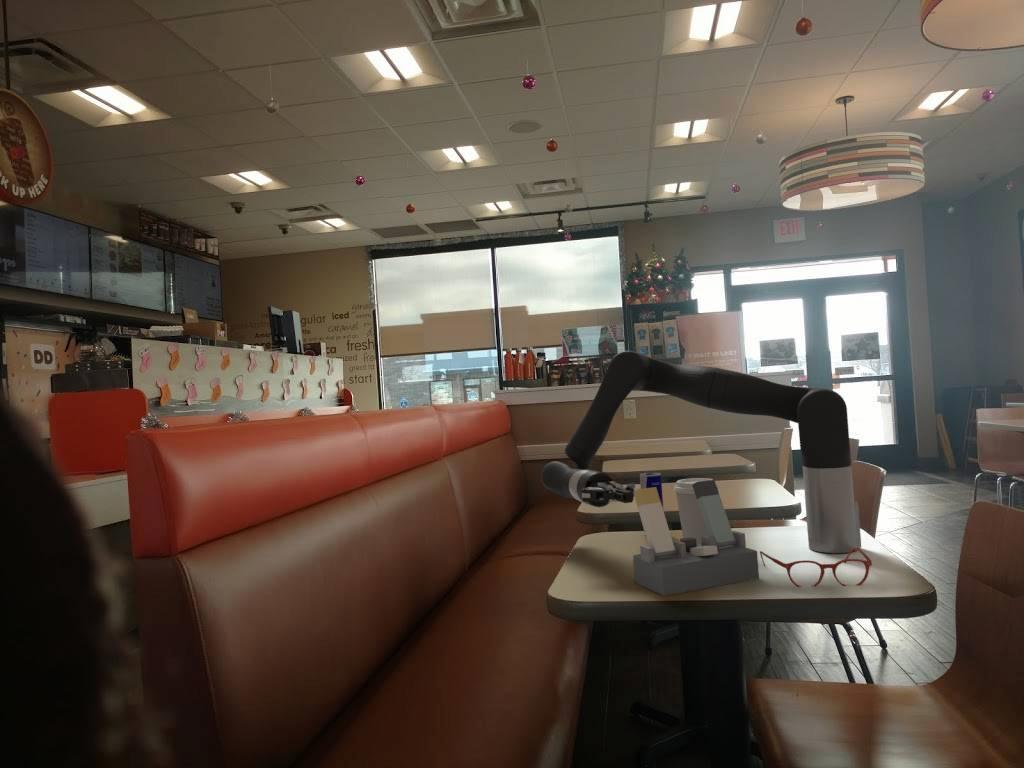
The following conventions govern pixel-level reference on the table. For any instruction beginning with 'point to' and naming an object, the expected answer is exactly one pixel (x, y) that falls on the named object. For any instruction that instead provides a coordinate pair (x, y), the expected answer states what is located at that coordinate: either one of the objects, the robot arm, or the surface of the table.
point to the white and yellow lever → (654, 522)
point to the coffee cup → (690, 509)
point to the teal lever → (713, 513)
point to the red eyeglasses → (824, 566)
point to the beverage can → (652, 483)
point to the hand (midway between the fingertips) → (629, 497)
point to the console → (696, 565)
